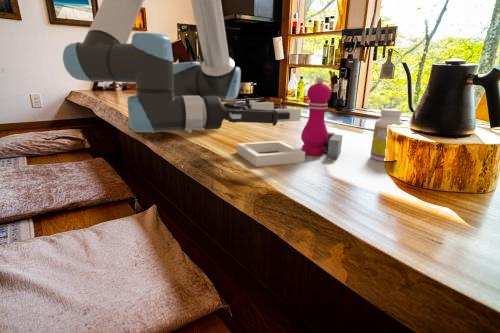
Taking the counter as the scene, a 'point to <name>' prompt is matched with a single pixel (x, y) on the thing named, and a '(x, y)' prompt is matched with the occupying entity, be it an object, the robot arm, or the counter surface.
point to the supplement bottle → (383, 132)
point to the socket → (283, 157)
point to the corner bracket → (333, 145)
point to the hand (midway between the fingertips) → (285, 110)
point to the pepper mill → (316, 119)
